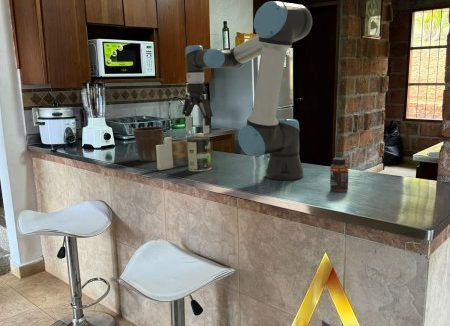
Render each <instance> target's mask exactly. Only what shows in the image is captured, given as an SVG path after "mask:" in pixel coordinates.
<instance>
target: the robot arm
mask: <svg viewBox="0 0 450 326" xmlns="http://www.w3.org/2000/svg"><path fill="white" fill-rule="evenodd" d="M312 26H313V17H312V14H311V12H310V10H309V9H308V8H307V7H306V6H304V5H303V4H297V3H290V2H284V1H280V0H278V1H277V0H276V1H272V0H271V1H266V2H265V3H263V4H262V5H261V6H260V7H259V8H258V9H257V11H256V13H255V15H254V19H253V28H254V30H255V33H256V35H255V36H252V37H251V38H250V39H247V40H246V41H244V42H242V43H240V44H238V45H237V46H235V47H233V48H231V49H221V48H208V49H204V48H203V45H188V46H186V47H185V55H184V57H185V71H186V75H185V77H186V83H187V84H186V91H187V93H186V94H185V95H184V96H185V97H184V98H185V99H184V102H183V103H184V104H183V108H182V112H181V114H182V115H183V116H184V118H185V131H186V132H189V131H190V132H191V131H193V124H192V122H193V121H192V118H193V117H192V112H193V110H194V108H195V106H198V108H199V110H200V112H201V114H202V116H203V117H202V131H203V133H204V135H206V134H210V118H212V117H213V111H212V109H211V105H210V102H209V99H208V97H209V96H208V93H207V94H203V92H206V91H205V90H206V89H205V83H204V82H205V71H204V70H205V69H223V68H224V69H229V68H230V69H240V68H243V67H245V65H246V64H247V62H249V61H250V60H253V59H256V58H258V57H260V58H259V65H258V70H257V71H258V72H257V77H256V85H255V92H254V99H253V106H252V111H251V114H250V115H249V116H247V118H246V125H243V126H242V127H241V128H240V129H239V131H238V135H237V137H238V138H237V139H238V144H239V146H240V148H241V150H242V151H243V152H244V153H245V154H246V155H248V156H250V157H261V156H264V155H269V159H268V163H267V166H266V169H265V177H266V178H268V179H271V180H277V181H291V180H298V179H302V178H303V177H304V175H305V173H304V169H303V166H302V163H301V159H300V124H299V121H298V119H288V118H277V116H276V114H277V110H278V105H279V99H280V92H281V85H282V78H283V73H284V67H285V61H286V56H287V51H288V49H290V48H292V47H293V43H296V42H297V41H299V40H302V39H303V38H304V37H306V36H307V35H309V33H310V31H311V29H312Z"/></svg>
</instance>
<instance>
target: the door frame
mask: <svg viewBox="0 0 450 326" xmlns="http://www.w3.org/2000/svg"><path fill="white" fill-rule="evenodd" d="M196 137H205V134H204V133H202V132H200V133H196ZM172 142H173V141H172V137H170V136H167V137H163V145H156V154H157V161H156V167H157V170H158V171H162V170H163V171H164V170H168V169H173V168H174V166H173V157H172Z"/></svg>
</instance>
